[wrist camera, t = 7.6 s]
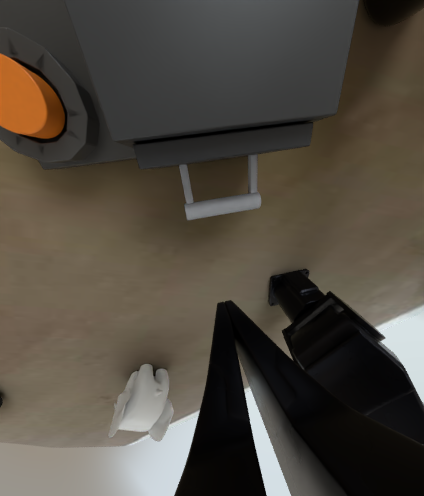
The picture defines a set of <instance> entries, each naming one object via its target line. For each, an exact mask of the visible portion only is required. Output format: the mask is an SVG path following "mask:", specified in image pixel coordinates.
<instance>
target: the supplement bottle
mask: <svg viewBox="0 0 424 496" xmlns="http://www.w3.org/2000/svg"><path fill="white" fill-rule="evenodd" d="M364 1H365V6H366V10H367V12H368V15H369V16H370V18H371V19H372V21H373V22H375V23H376V24H378V25H380V26H392V25H395V24H398V23H400V22H402V21H404V20H405V19H407V18H409V17H410V16H412V15H413V14H415V13H417V12H418V11H420V10H422V9H423V8H424V0H364Z"/></svg>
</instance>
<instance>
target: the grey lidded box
mask: <svg viewBox="0 0 424 496" xmlns="http://www.w3.org/2000/svg"><path fill="white" fill-rule="evenodd" d="M63 1H64V4H65V7H66V10H67V12H68V15H69V18H70V21H71V24H72V27H73V29H74V32H75V35H76V38H77V41H78V44H79V46H80V49H81V52H82V55H83V58H84V61H85V63H86V66H87V69H88V72H89V75H90V77H91V80H92V83H93V86H94V89H95V92H96V94H97V97H98V100H99V103H100V106H101V109H102V111H103V114H104V117H105V120H106V123H107V126H108V128H109V131H110V134H111V137H112V140H113V141H115V142H117V143H120V144H123V145H126V146H128V147H131V148H133V144H139V143H147V142H155V141H163V140H171V139H179V138H187V137H195V136H203V135H211V134H219V133H227V132H236V131H244V130H252V129H260V128H268V127H276V126H284V125H292V124H300V123H308V122H315V121H318V120H321V119H323V118H327V117H330V116H333V115H335V114H336V113H337V109H338V104H339V99H340V94H341V89H342V84H343V79H344V74H345V69H346V64H347V59H348V54H349V49H350V44H351V39H352V34H353V29H354V24H355V19H356V14H357V9H358V4H359V0H63Z"/></svg>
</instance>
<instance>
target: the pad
mask: <svg viewBox="0 0 424 496" xmlns="http://www.w3.org/2000/svg"><path fill="white" fill-rule="evenodd" d="M0 53H1V54H3V55H5V56H7V57H9V58H11V59H12V60H14V61H16V62H17V63H19V64H20V65H22V66H24V67H25V68H27V69H28V70H30V71H31V72H33V73H35V74H36V75H38V76H39V77H41V78H42V79H43V80H44V81H45V82H46V83H47V84H48V85H49V86H50V87H51V88H52V89H53V91H54V92H55V93H56V95H57V96H58V98H59V100H60V102H61V104H62V107H63V110H64V114H65V124H64V128H63V130H62V131H61V133H60V134H59V135H57V136H56V137H53V138H49V139H43V138H37V137H32V136H27V135H22V134H18V133H14V132H12V131H9V130H7V129H5V128H3V127H2V126H0V140H1V141H3V142H4V143H5V144H6V145H8V146H9V147H10V148H11V149H13V150H14V151H16V152H18V153H20V154H23V155H26V156H28V157H31V158H34V159H37V160H38V161H39V163H40V164H41V166H42V168H43V169H62V168H70V167H77V166H85V165H92V164H100V163H108V162H115V161H123V160H130V159H136V155H135V152H134V149H133V148H131V147H128V146H126V145H123V144H120V143H117V142H115V141H113V140H112V137H111V134H110V131H109V128H108V126H107V123H106V120H105V117H104V114H103V111H102V109H101V106H100V103H99V100H98V97H97V94H96V92H95V89H94V86H93V83H92V80H91V77H90V75H89V72H88V69H87V66H86V63H85V61H84V58H83V55H82V52H81V49H80V46H79V44H78V41H77V38H76V35H75V32H74V29H73V27H72V24H71V21H70V18H69V15H68V12H67V10H66V7H65V4H64V1H63V0H0Z"/></svg>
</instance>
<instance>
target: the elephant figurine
mask: <svg viewBox="0 0 424 496" xmlns="http://www.w3.org/2000/svg"><path fill="white" fill-rule="evenodd" d="M168 391H169V377H168V373H167V370H166V369H158V370H157V371H156V375H155V376H153V367H152V365H151V364H144V365H141V367H140V370H139V371H135V372H133V373H132V374H131V376H130V378H129V380H128V383H127V385H126V388H125V390H124V391H123V393H121V394H120V395H119V396H118V401H117V405H116V403H114V409H115V412H114V416H113V419H112V424H111V427H110V430H109V434H108V437H110V438H111V437H113V436H114V435H115V433H116V431H117V430H118V429H121V430H130V431H140V432H145V431H148V432H149V434H150V437H151V438H152V439H154V440H155V441H161V440H162V438H163V437H164V435H165V433H166V431H167V428H168V426H169V423H170V421H171V418H172V416H173V413H174V411H173V407H172V403H171V401H170V400H169V399H168V398H167V396H168Z"/></svg>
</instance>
